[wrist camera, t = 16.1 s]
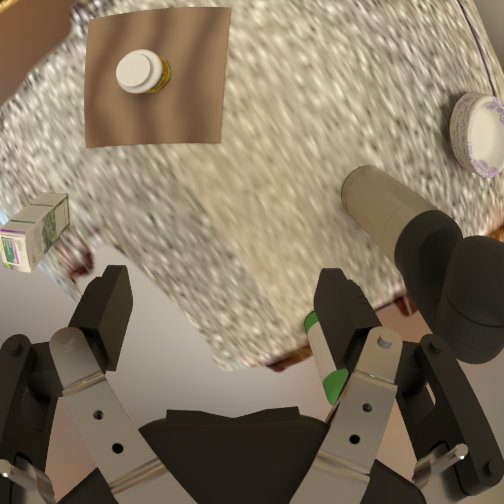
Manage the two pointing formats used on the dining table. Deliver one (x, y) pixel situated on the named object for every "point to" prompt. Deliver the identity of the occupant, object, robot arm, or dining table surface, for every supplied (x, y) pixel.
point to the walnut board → (178, 88)
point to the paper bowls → (478, 133)
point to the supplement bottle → (143, 72)
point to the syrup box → (33, 231)
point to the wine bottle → (324, 359)
